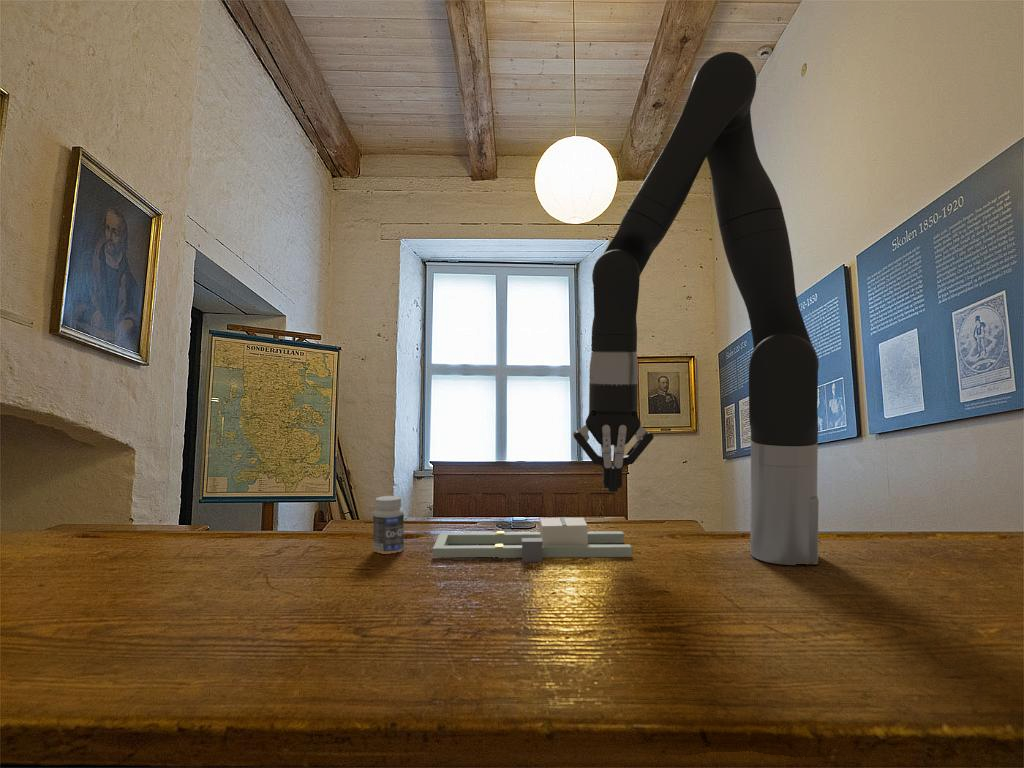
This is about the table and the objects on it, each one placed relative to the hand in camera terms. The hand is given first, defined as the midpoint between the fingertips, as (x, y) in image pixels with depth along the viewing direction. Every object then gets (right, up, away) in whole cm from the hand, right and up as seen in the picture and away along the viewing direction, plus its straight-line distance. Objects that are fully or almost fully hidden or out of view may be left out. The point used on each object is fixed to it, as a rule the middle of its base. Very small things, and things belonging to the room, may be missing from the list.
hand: (611, 490), depth 107 cm
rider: (-8, -9, 0) cm, 12 cm away
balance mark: (-18, -8, 0) cm, 19 cm away
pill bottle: (-35, -10, 0) cm, 36 cm away
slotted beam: (-13, -9, 0) cm, 16 cm away
